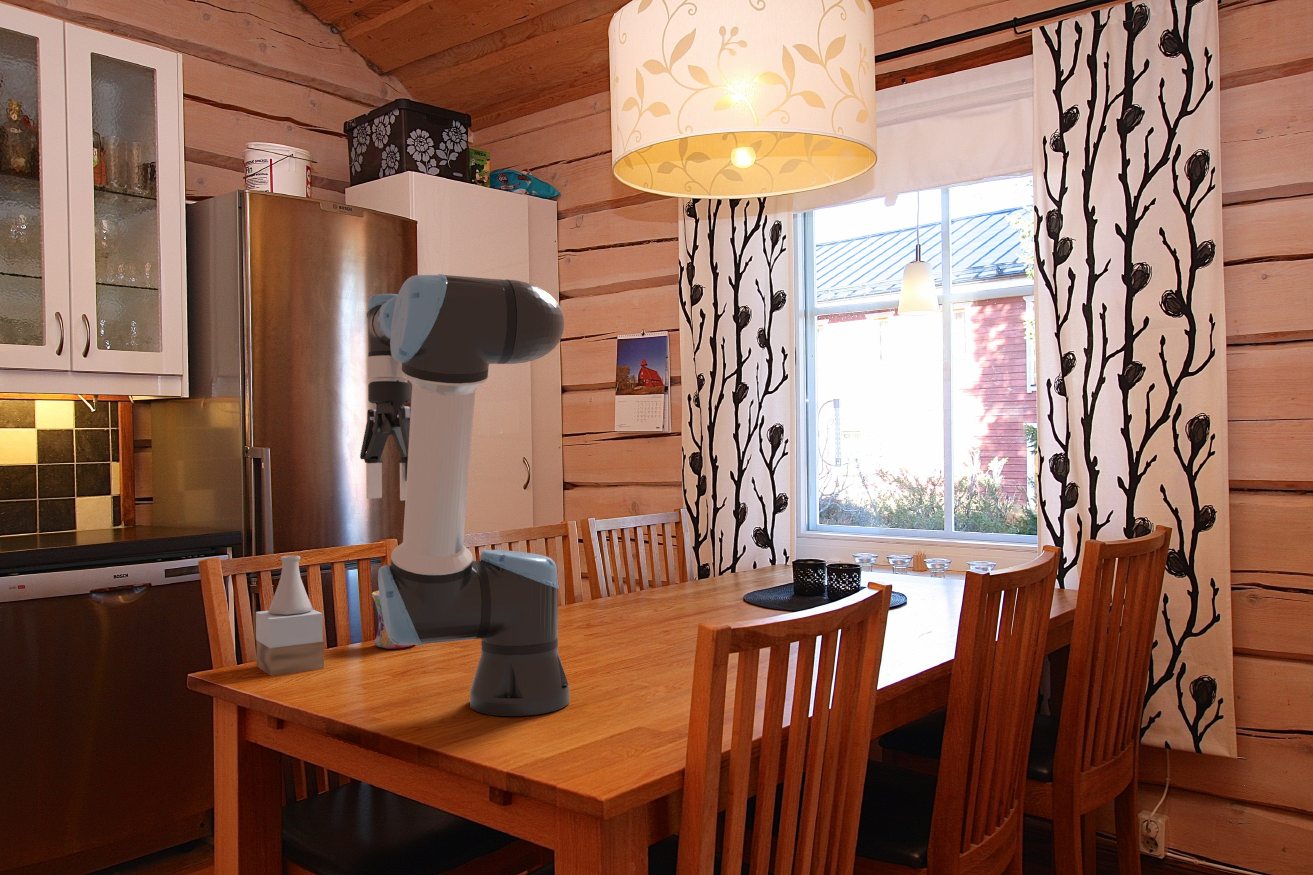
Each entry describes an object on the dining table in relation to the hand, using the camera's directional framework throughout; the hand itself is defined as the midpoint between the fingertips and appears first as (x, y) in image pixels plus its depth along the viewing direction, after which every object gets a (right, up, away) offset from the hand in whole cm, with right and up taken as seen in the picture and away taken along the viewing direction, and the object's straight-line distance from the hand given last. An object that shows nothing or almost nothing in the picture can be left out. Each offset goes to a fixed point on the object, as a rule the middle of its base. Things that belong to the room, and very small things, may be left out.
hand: (390, 499), depth 176 cm
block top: (-18, -25, -2) cm, 31 cm away
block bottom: (-18, -30, -2) cm, 35 cm away
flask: (-18, -20, -1) cm, 27 cm away
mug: (-2, -30, +17) cm, 35 cm away
